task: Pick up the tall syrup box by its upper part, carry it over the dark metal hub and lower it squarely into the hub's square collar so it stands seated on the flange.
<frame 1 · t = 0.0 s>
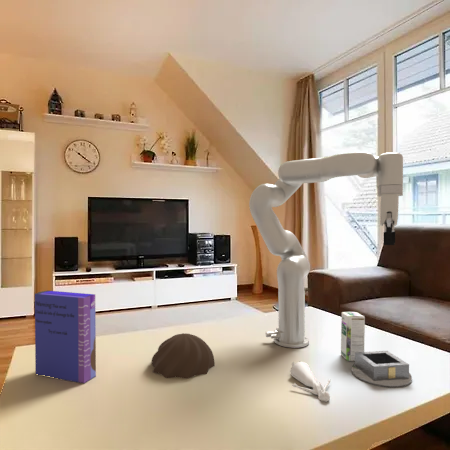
hand: (389, 244, 116), 37 cm above the table, tool pointing down, fingers open, 9 cm apart
decorative dome: (183, 366, 111), on the table
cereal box: (65, 376, 103), on the table
hub: (380, 374, 104), on the table
syrup box: (352, 358, 117), on the table
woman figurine: (310, 387, 97), on the table
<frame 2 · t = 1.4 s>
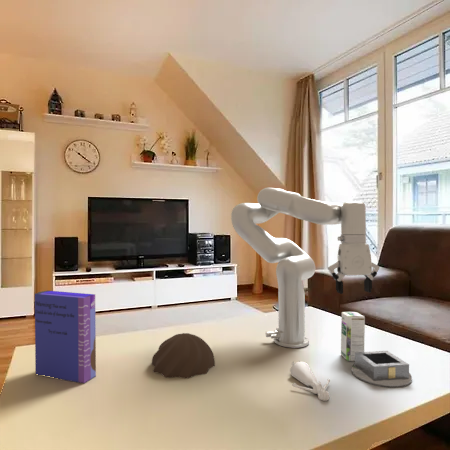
hand: (353, 292, 116), 22 cm above the table, tool pointing down, fingers open, 9 cm apart
nothing on the table moved.
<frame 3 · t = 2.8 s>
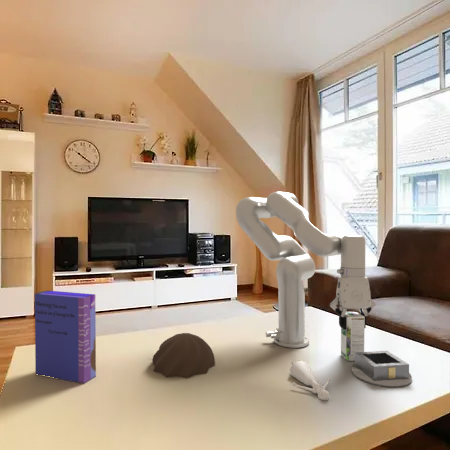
hand: (352, 327, 117), 10 cm above the table, tool pointing down, fingers closed on syrup box, 5 cm apart
syrup box: (352, 358, 117), on the table, touching gripper
everything else where it was.
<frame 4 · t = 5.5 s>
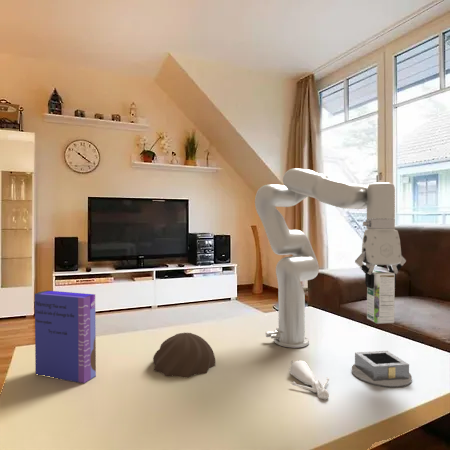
hand: (380, 286, 104), 26 cm above the table, tool pointing down, fingers closed on syrup box, 5 cm apart
syrup box: (380, 321, 104), point 15 cm above the table, touching gripper
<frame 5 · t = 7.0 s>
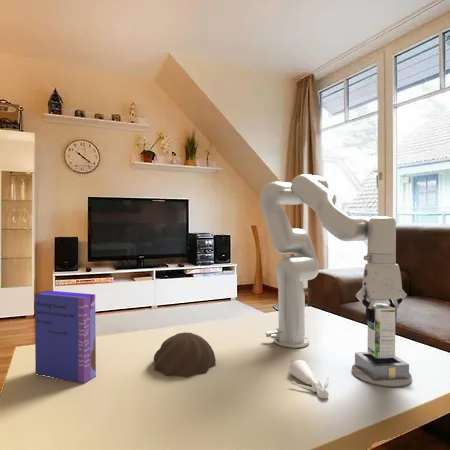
hand: (381, 320, 104), 16 cm above the table, tool pointing down, fingers closed on syrup box, 5 cm apart
syrup box: (381, 355, 104), point 6 cm above the table, touching gripper
when the fingers open (13 cm above the table, at t = 8.0 s): syrup box drops 2 cm, resting on hub.
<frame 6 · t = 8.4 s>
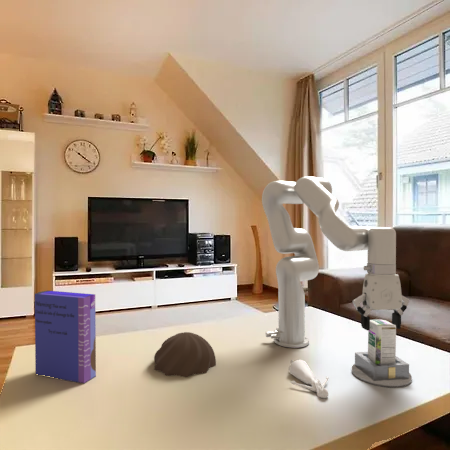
hand: (381, 328, 104), 14 cm above the table, tool pointing down, fingers open, 9 cm apart
syrup box: (381, 372, 104), point 1 cm above the table, touching hub
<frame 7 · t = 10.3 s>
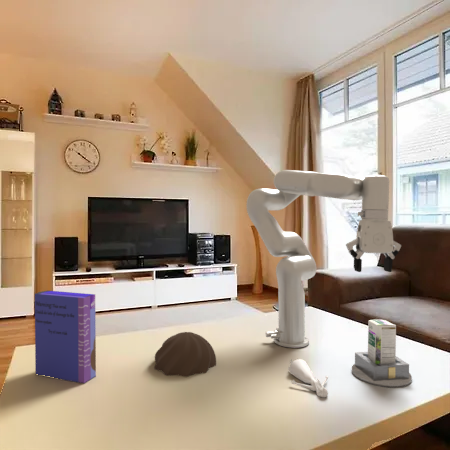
hand: (372, 271, 110), 29 cm above the table, tool pointing down, fingers open, 9 cm apart
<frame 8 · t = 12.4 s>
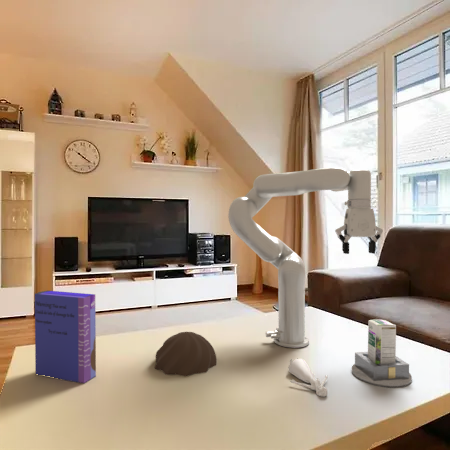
hand: (359, 253, 126), 33 cm above the table, tool pointing down, fingers open, 9 cm apart
at the end: syrup box 0.4 cm off-centre on the hub, point 0.6 cm above the hub's base; syrup box tilted 0°; the gripper is holding nothing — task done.
